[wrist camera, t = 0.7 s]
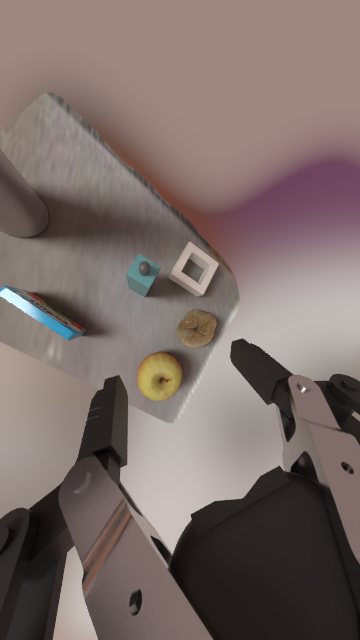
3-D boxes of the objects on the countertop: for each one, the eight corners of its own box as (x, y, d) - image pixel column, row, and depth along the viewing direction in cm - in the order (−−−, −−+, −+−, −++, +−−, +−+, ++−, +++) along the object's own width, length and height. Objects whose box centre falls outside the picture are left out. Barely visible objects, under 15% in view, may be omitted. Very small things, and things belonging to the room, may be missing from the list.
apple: (184, 362, 37) (196, 374, 29) (161, 396, 36) (168, 418, 28) (153, 341, 35) (158, 348, 27) (127, 376, 33) (125, 394, 25)
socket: (167, 277, 35) (171, 273, 32) (184, 248, 36) (189, 241, 33) (197, 296, 38) (203, 294, 34) (211, 268, 39) (219, 263, 36)
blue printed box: (86, 330, 30) (75, 333, 25) (81, 335, 30) (68, 340, 24) (31, 291, 28) (2, 285, 22) (24, 297, 27) (-6, 292, 21)
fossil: (222, 316, 34) (204, 353, 30) (221, 324, 37) (205, 359, 34) (188, 305, 37) (169, 337, 34) (191, 313, 41) (173, 344, 37)
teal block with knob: (129, 287, 33) (125, 270, 20) (137, 273, 33) (139, 247, 21) (144, 297, 34) (150, 285, 21) (153, 282, 34) (163, 263, 22)
